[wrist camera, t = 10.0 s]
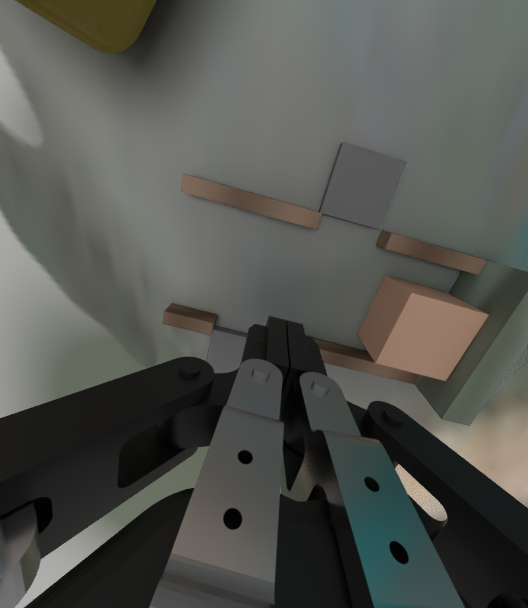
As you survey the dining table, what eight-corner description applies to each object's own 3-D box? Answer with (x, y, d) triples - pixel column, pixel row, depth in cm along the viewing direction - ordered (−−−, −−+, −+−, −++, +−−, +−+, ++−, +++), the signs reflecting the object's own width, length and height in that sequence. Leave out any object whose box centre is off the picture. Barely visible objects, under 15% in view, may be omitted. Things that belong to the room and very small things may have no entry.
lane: (496, 262, 19) (572, 285, 14) (427, 377, 22) (469, 425, 18) (190, 175, 17) (160, 167, 12) (169, 315, 21) (140, 349, 16)
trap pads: (417, 176, 17) (422, 175, 16) (244, 389, 23) (243, 393, 22) (354, 121, 16) (358, 118, 15) (191, 359, 22) (189, 364, 21)
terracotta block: (447, 292, 20) (489, 314, 16) (415, 349, 21) (445, 381, 18) (384, 274, 19) (411, 292, 16) (356, 333, 21) (375, 363, 17)
